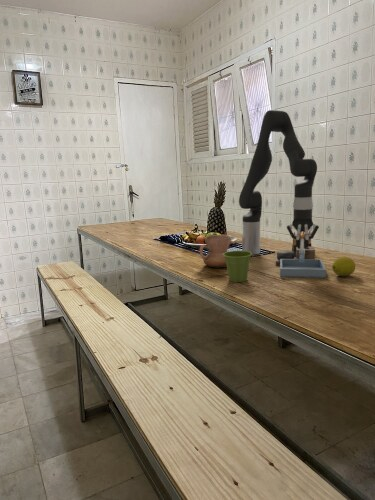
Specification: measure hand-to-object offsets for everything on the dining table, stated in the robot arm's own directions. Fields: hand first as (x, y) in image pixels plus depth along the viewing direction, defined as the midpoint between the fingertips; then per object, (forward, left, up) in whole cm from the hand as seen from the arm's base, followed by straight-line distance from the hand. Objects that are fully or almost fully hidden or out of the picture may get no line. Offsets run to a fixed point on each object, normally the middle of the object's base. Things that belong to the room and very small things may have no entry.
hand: (302, 248), depth 164 cm
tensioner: (-2, +17, -10) cm, 20 cm away
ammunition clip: (+2, +37, -11) cm, 38 cm away
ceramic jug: (-38, +8, -11) cm, 40 cm away
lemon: (+16, -5, -11) cm, 20 cm away
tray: (0, 0, -10) cm, 10 cm away
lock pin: (0, 0, -6) cm, 6 cm away
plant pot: (-26, -15, -11) cm, 32 cm away
